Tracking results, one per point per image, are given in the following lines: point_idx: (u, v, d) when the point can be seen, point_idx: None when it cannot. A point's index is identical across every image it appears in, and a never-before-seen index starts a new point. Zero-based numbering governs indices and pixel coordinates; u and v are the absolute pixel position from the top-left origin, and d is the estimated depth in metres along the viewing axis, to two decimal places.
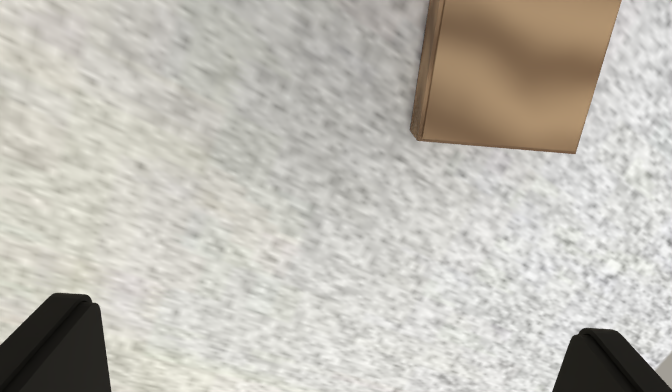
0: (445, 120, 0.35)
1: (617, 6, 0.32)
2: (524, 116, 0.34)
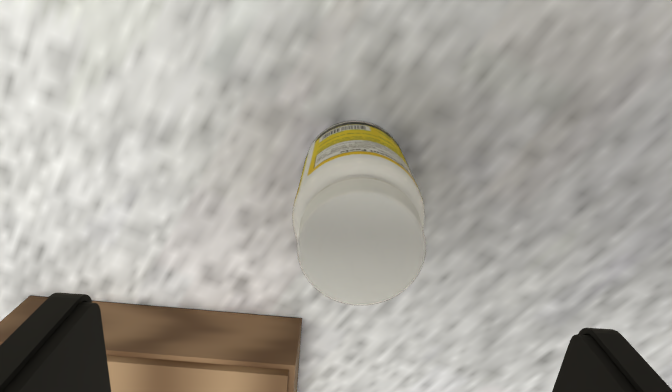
0: None
1: None
2: None
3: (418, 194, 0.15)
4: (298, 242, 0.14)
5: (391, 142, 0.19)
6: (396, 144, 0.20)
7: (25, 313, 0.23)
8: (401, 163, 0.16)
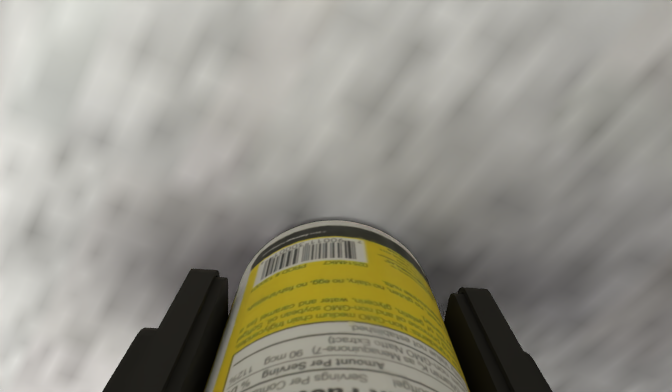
0: None
1: None
2: None
3: None
4: None
5: (413, 288, 0.08)
6: (420, 276, 0.09)
7: None
8: None
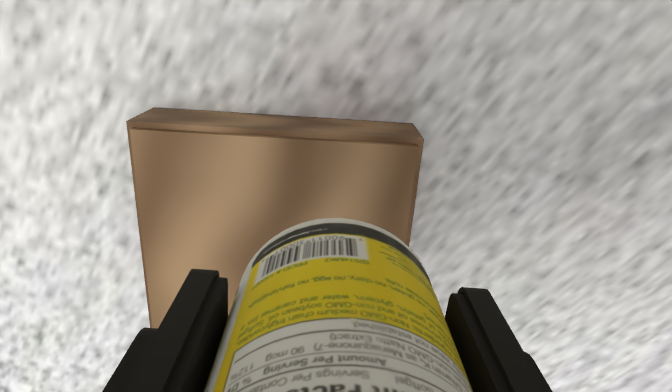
0: (164, 161, 0.23)
1: None
2: (188, 265, 0.25)
3: None
4: None
5: (415, 285, 0.08)
6: (421, 273, 0.09)
7: (157, 113, 0.24)
8: None
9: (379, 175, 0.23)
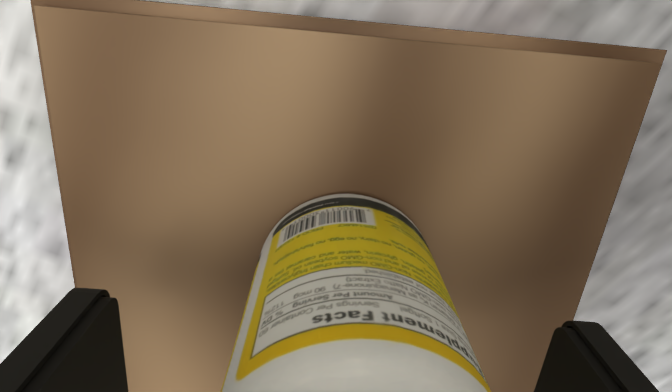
0: (113, 83, 0.10)
1: None
2: (164, 300, 0.13)
3: None
4: None
5: (415, 247, 0.10)
6: (421, 240, 0.11)
7: None
8: (452, 334, 0.07)
9: (567, 125, 0.11)
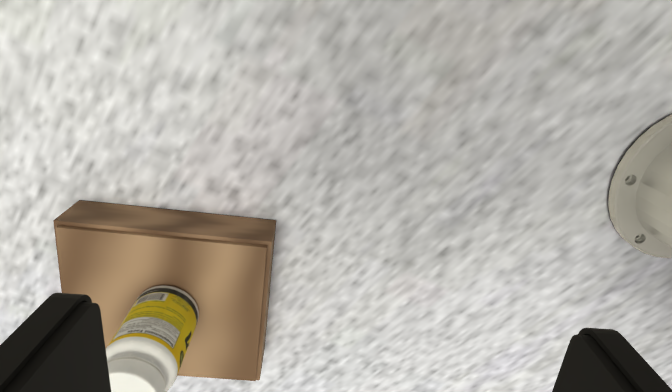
0: (81, 249, 0.31)
1: (209, 376, 0.36)
2: None
3: (169, 358, 0.27)
4: None
5: (177, 308, 0.31)
6: (186, 304, 0.32)
7: (79, 209, 0.33)
8: (165, 335, 0.28)
9: (239, 265, 0.32)
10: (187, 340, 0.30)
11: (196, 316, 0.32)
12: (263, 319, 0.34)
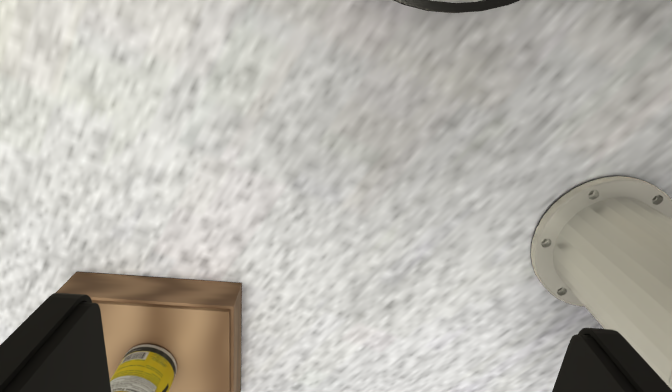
0: None
1: None
2: None
3: None
4: None
5: (155, 365, 0.37)
6: (164, 360, 0.38)
7: (76, 281, 0.39)
8: None
9: (208, 326, 0.38)
10: None
11: (174, 369, 0.39)
12: (232, 369, 0.40)
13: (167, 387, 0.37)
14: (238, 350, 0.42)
